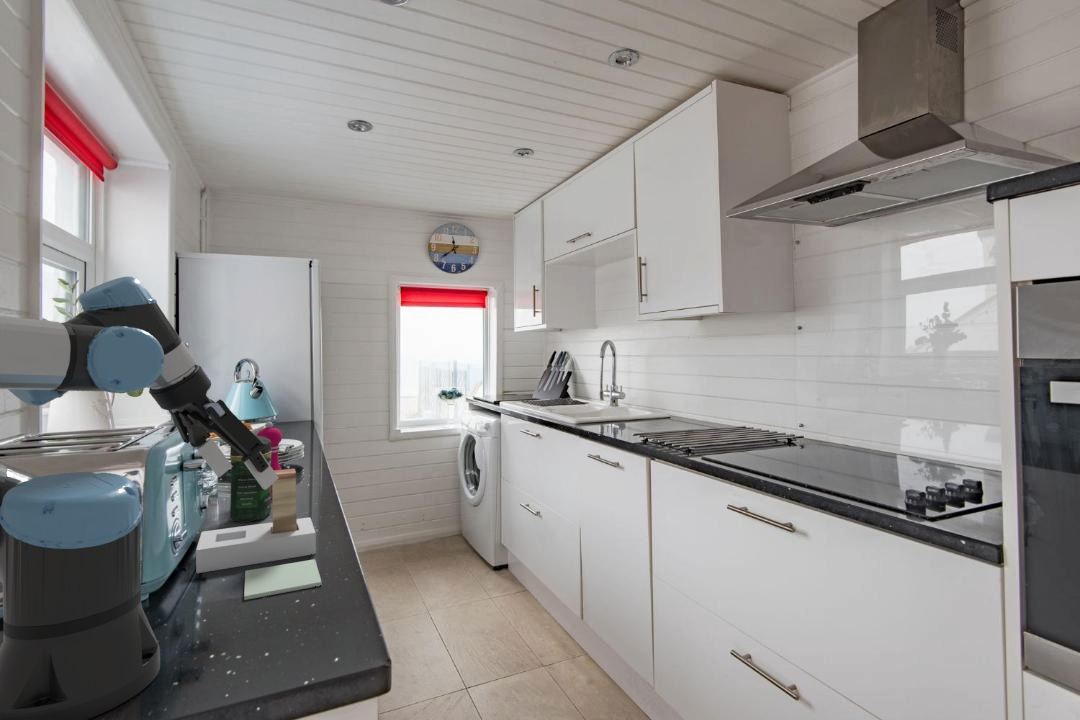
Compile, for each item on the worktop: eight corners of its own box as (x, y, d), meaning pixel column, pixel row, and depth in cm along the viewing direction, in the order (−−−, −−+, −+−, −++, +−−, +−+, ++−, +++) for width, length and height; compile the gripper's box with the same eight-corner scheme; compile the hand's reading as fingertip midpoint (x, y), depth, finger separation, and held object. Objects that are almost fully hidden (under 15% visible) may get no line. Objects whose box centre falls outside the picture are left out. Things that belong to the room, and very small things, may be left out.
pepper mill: (291, 495, 145) (290, 420, 145) (270, 502, 138) (269, 423, 138) (269, 493, 147) (268, 419, 147) (247, 500, 140) (247, 422, 140)
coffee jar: (264, 522, 122) (263, 439, 121) (225, 524, 120) (224, 440, 120) (276, 509, 131) (275, 433, 131) (240, 512, 129) (239, 434, 129)
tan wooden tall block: (296, 550, 103) (296, 472, 103) (273, 554, 102) (272, 474, 101) (295, 544, 107) (294, 468, 107) (272, 547, 105) (272, 470, 105)
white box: (315, 553, 102) (315, 532, 102) (196, 573, 93) (196, 550, 93) (310, 536, 111) (310, 517, 111) (202, 552, 103) (201, 531, 103)
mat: (321, 585, 88) (321, 581, 88) (244, 600, 83) (244, 596, 83) (314, 562, 97) (314, 559, 97) (245, 574, 92) (245, 570, 92)
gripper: (240, 365, 78) (309, 472, 89) (156, 358, 91) (225, 453, 101) (194, 397, 73) (273, 506, 83) (111, 385, 86) (189, 481, 96)
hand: (247, 477), depth 92 cm, fingers open, 13 cm apart
